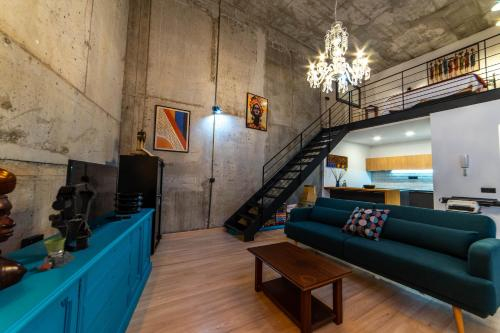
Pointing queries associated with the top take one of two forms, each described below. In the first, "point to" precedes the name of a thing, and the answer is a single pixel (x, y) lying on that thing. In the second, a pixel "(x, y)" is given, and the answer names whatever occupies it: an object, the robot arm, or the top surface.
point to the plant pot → (55, 244)
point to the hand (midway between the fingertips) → (70, 235)
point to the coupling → (56, 253)
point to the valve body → (55, 261)
